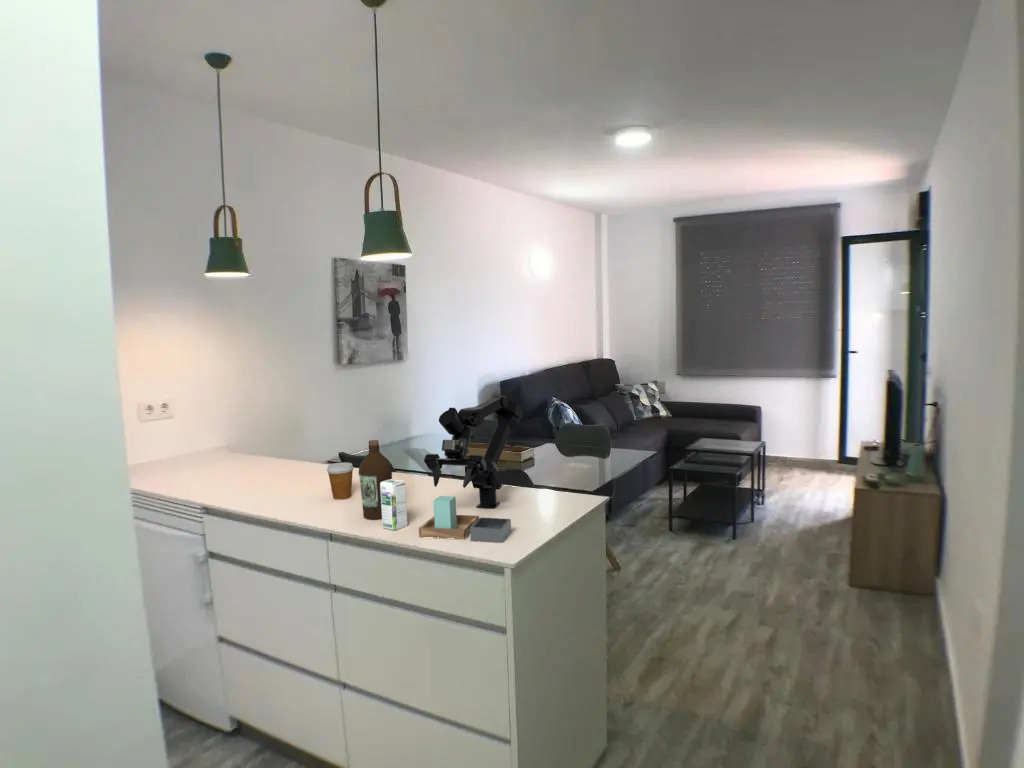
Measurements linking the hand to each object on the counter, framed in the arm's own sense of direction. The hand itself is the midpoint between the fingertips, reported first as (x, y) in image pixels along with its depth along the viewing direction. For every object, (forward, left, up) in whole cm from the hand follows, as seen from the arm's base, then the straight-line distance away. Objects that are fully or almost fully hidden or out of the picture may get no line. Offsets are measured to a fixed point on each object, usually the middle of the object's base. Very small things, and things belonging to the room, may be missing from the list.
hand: (449, 486), depth 202 cm
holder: (+4, +14, -13) cm, 20 cm away
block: (+4, 0, -12) cm, 13 cm away
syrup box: (0, -19, -13) cm, 23 cm away
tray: (+1, 0, -13) cm, 13 cm away
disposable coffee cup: (-29, -54, -13) cm, 62 cm away
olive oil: (-10, -30, -13) cm, 34 cm away
